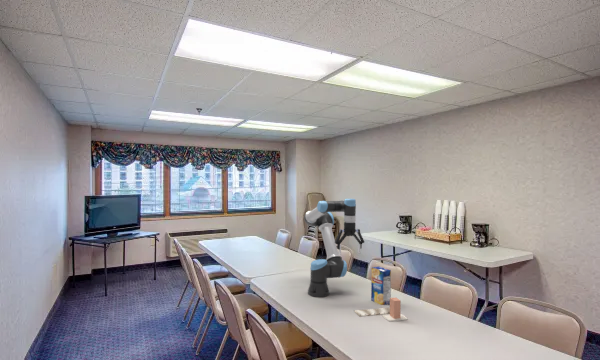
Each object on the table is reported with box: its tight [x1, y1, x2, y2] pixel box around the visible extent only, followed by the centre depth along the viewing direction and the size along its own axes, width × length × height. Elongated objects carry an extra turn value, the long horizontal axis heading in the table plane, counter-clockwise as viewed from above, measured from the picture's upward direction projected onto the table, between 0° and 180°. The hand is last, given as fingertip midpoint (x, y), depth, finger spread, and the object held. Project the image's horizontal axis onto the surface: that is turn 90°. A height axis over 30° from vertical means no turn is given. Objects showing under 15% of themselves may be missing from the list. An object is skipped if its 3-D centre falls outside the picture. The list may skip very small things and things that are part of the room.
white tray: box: [353, 307, 390, 318], centre depth 190 cm, size 26×18×2 cm
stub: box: [381, 297, 409, 322], centre depth 187 cm, size 12×7×11 cm, turn 103°
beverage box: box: [370, 265, 392, 306], centre depth 216 cm, size 7×11×22 cm, turn 31°
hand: (349, 254), depth 215 cm, fingers open, 13 cm apart
